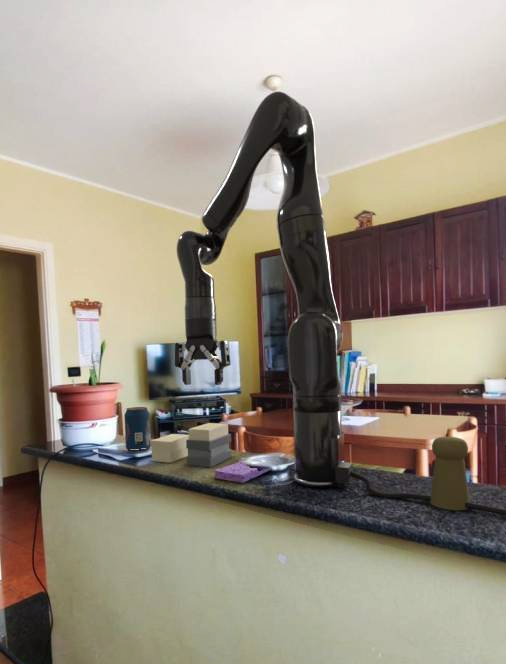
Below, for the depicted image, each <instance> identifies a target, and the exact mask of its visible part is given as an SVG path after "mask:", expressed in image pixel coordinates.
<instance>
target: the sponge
mask: <svg viewBox="0 0 506 664" xmlns="http://www.w3.org/2000/svg"><path fill="white" fill-rule="evenodd" d="M243 460H244V459H242V460H240V461H238V462H235V463H231V464H230V465H225V466H224V467H221V468H217V469H214V477H215V478H216V479H219V480H223V481H230V482H235V483H245V482H248V481H250V480H252V479H254V478H257V477H258V476H261V475H263V474H265V473H267V472H269V471H271V470H272V469H263V470H261V471H258V469H257V468H250V467H249V466H247V465H246V464H244V463H242V461H243Z"/></svg>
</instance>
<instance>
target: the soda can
mask: <svg viewBox="0 0 506 664" xmlns="http://www.w3.org/2000/svg"><path fill="white" fill-rule="evenodd" d="M123 415H124V416H123V417H124V436H125V437H124V438H125V449H126V450H127V452H129V453H130V454H131V453H132V454H139V453H140V454H141V453H146V452H149V450H150V449H151V441H152V439H151V436H152V435H151V414H150V411H149V410H148V407H146V406H135V407H126V411H125V412H124V414H123ZM141 448H146V449H141ZM130 449H139V450H130Z"/></svg>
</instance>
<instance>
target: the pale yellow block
mask: <svg viewBox="0 0 506 664" xmlns="http://www.w3.org/2000/svg"><path fill="white" fill-rule="evenodd" d="M187 431H188V435H189V440H200V441H211V440H213V439H216V438H219V437H221V436H224V435H227V434H229V423H220V422H219V423H218V422H217V423H216V422H207V423H204V424H201V425H197V426H194V427H191V428H188V430H187Z"/></svg>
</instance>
